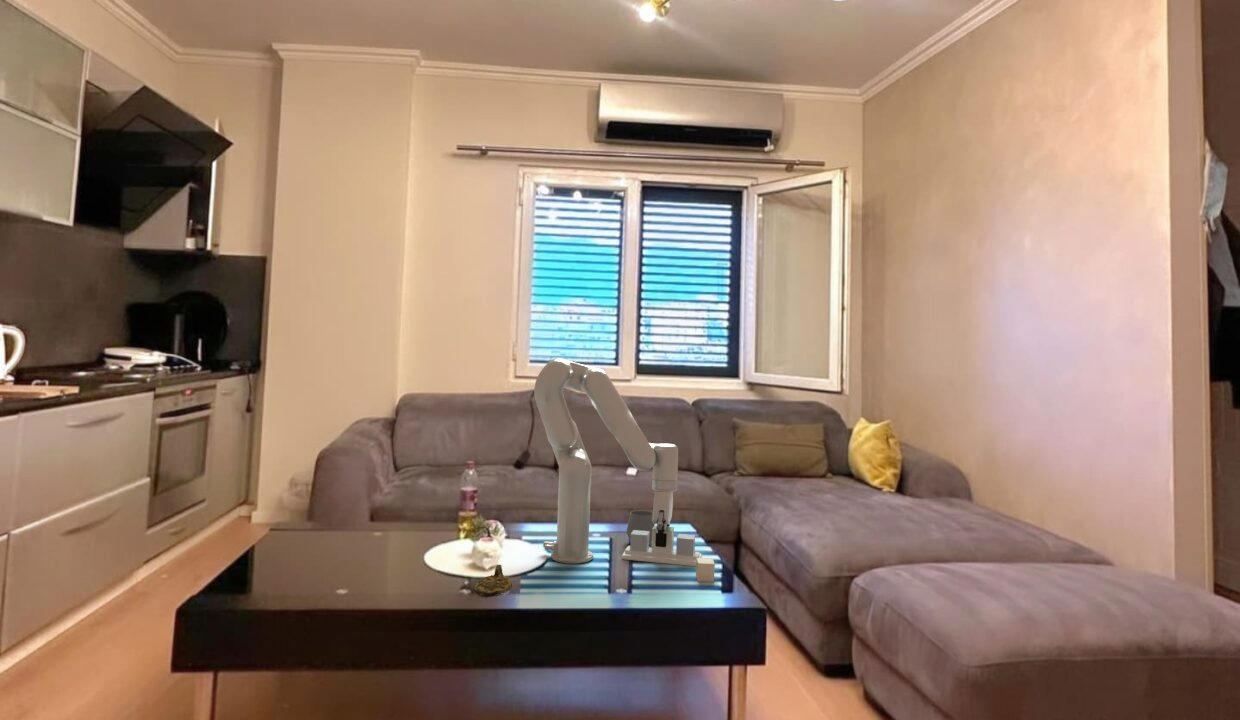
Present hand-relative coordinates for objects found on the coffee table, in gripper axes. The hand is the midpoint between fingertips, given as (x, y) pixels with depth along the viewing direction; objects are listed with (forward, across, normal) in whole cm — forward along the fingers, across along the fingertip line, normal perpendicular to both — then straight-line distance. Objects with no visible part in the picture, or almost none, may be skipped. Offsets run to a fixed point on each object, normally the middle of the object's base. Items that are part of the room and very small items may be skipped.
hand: (662, 542), depth 205 cm
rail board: (+5, 0, 0) cm, 5 cm away
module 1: (+3, 0, 0) cm, 3 cm away
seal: (+5, +38, -39) cm, 55 cm away
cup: (+5, -14, -9) cm, 17 cm away
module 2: (+5, +15, +14) cm, 21 cm away
